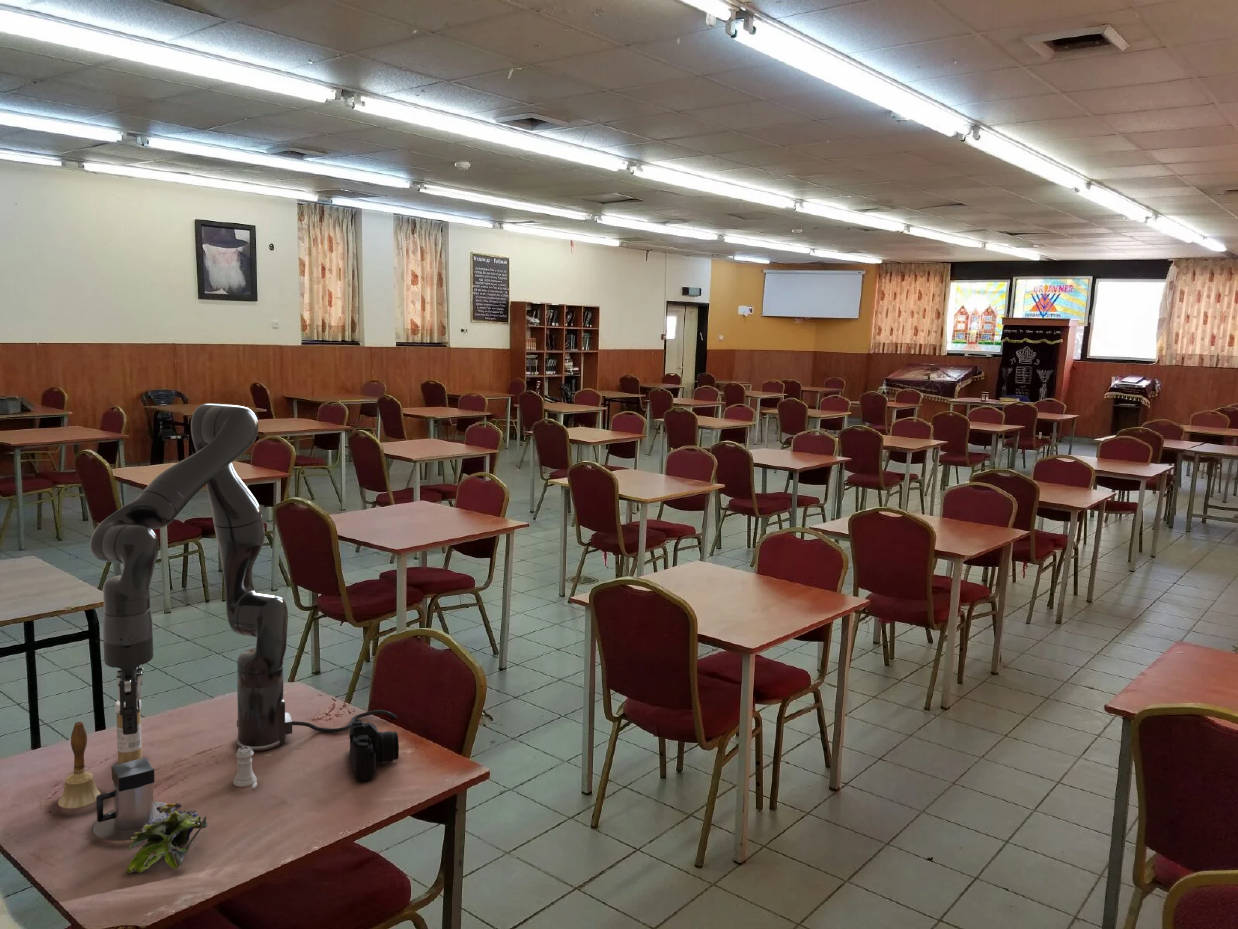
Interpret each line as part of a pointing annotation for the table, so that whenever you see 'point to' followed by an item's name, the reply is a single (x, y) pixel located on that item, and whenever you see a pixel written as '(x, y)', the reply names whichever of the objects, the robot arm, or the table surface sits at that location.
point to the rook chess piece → (245, 769)
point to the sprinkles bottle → (128, 739)
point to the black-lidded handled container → (130, 795)
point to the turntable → (115, 834)
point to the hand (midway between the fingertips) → (131, 723)
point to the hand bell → (79, 774)
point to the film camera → (370, 749)
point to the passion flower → (165, 838)
